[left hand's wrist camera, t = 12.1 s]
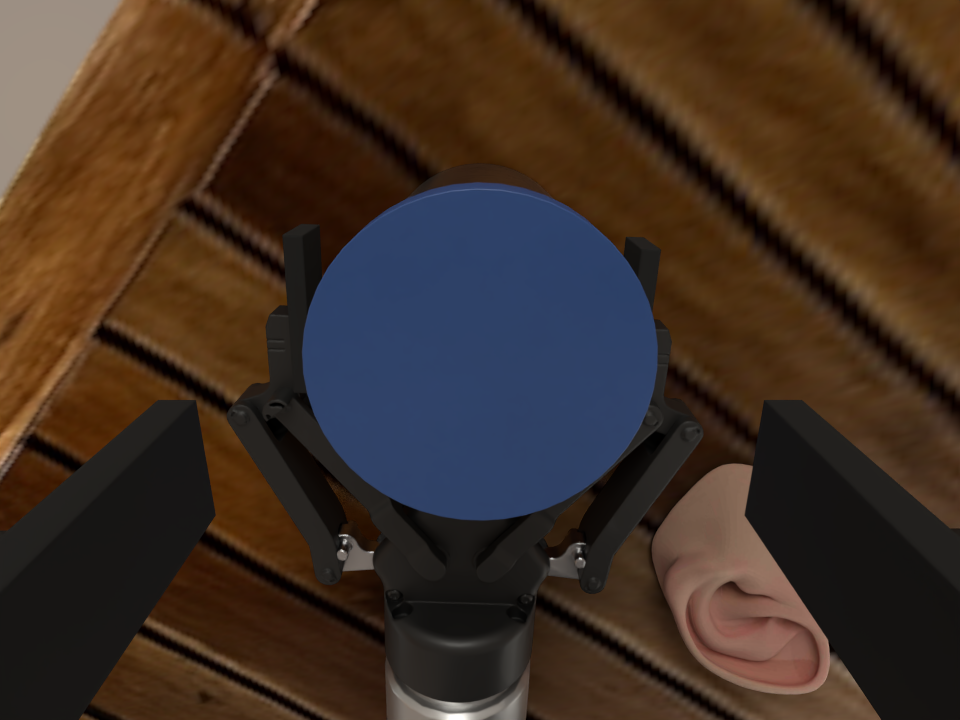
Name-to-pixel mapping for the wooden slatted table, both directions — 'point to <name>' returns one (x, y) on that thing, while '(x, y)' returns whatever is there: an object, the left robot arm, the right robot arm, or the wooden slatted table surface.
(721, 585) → the anatomical model
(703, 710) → the wooden slatted table surface
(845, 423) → the wooden slatted table surface
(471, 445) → the lid
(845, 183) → the wooden slatted table surface
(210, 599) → the wooden slatted table surface
